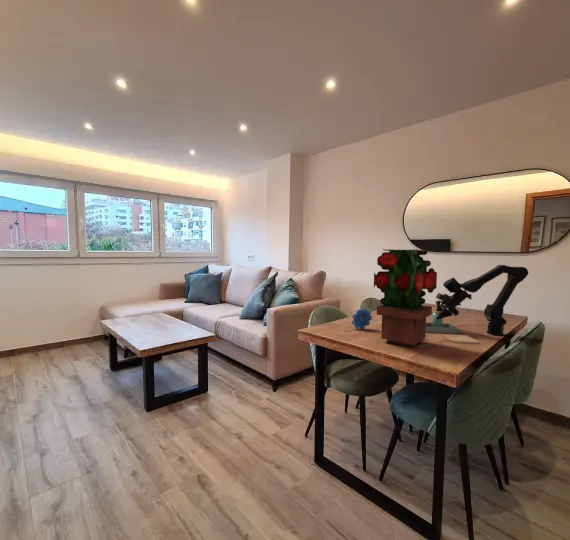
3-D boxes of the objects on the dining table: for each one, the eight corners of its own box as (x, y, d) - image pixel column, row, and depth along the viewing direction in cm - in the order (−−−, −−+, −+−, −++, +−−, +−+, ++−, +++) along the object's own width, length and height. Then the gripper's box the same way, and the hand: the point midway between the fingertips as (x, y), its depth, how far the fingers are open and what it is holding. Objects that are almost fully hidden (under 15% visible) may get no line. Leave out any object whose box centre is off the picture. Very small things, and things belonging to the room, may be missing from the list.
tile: (467, 337, 155) (467, 335, 155) (478, 344, 144) (478, 342, 144) (442, 336, 157) (442, 334, 157) (452, 342, 145) (452, 340, 145)
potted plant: (372, 342, 144) (374, 249, 141) (389, 333, 161) (392, 250, 158) (420, 352, 129) (424, 249, 127) (434, 341, 146) (438, 250, 144)
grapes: (369, 327, 174) (369, 306, 173) (373, 330, 167) (373, 309, 167) (349, 327, 174) (350, 306, 173) (352, 330, 167) (353, 308, 166)
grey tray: (449, 329, 171) (449, 323, 171) (458, 335, 159) (459, 328, 159) (416, 328, 173) (416, 322, 173) (423, 333, 161) (423, 327, 161)
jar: (439, 327, 169) (439, 310, 168) (444, 330, 164) (444, 312, 163) (430, 327, 169) (430, 310, 168) (435, 330, 163) (435, 312, 163)
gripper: (439, 286, 174) (419, 304, 176) (453, 290, 155) (430, 310, 157) (453, 300, 173) (432, 318, 175) (468, 305, 155) (445, 325, 157)
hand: (434, 317), depth 166 cm, fingers closed on jar, 5 cm apart
